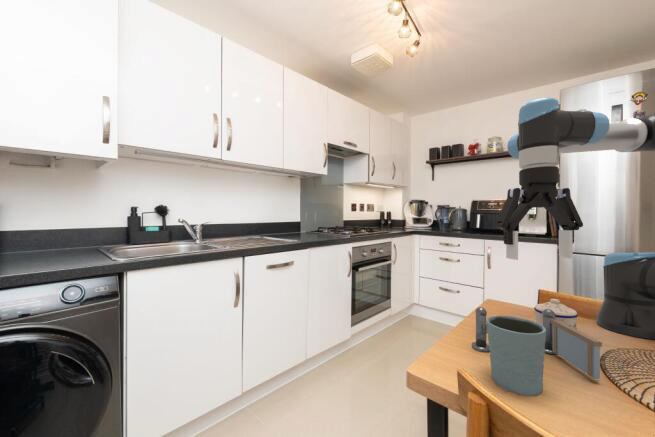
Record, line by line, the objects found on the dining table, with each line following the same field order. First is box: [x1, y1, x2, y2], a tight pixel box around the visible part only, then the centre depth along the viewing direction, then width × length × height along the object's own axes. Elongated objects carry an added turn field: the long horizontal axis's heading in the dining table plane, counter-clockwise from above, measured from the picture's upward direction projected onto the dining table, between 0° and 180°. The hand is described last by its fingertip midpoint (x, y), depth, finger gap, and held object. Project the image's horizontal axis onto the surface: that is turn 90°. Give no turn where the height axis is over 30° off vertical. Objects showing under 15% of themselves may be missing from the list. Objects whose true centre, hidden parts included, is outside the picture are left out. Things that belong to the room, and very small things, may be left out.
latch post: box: [471, 306, 490, 353], centre depth 72 cm, size 5×4×10 cm
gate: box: [551, 319, 603, 380], centre depth 62 cm, size 12×1×8 cm, turn 174°
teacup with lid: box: [533, 298, 579, 330], centre depth 75 cm, size 12×9×12 cm
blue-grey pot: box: [486, 315, 546, 397], centre depth 57 cm, size 10×10×12 cm
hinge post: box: [542, 309, 559, 356], centre depth 70 cm, size 4×4×10 cm
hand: (539, 258), depth 65 cm, fingers open, 13 cm apart
